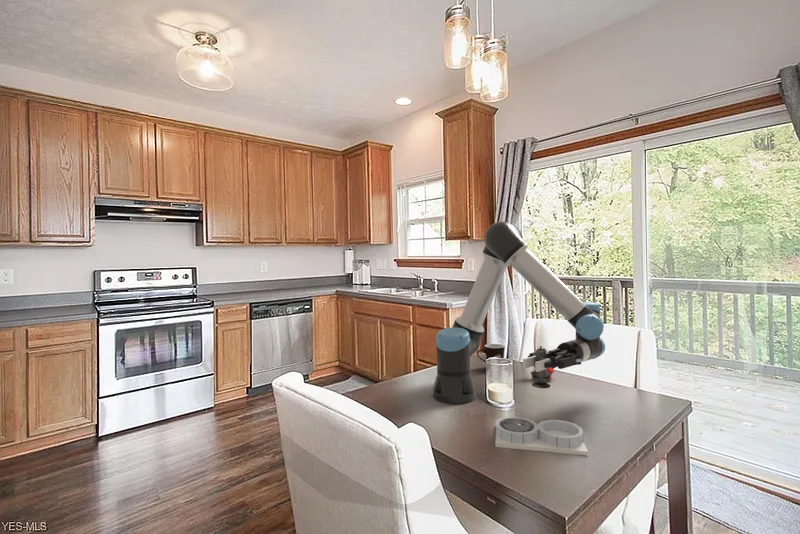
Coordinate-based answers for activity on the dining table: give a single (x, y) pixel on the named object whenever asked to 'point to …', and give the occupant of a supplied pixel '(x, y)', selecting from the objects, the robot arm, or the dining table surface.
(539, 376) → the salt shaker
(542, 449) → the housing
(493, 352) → the coffee mug
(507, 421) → the grey metallic domed disc
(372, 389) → the dining table surface
